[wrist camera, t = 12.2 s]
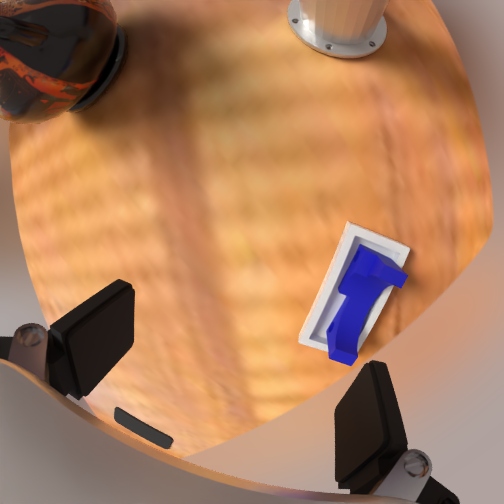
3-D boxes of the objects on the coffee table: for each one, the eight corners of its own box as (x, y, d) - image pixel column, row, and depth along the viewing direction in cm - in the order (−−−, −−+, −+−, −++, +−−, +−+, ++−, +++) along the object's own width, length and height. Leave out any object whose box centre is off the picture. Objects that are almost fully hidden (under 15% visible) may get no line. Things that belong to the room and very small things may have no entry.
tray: (347, 220, 30) (350, 223, 28) (404, 244, 29) (410, 248, 27) (298, 334, 35) (298, 342, 33) (351, 350, 34) (353, 359, 32)
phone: (167, 450, 49) (114, 420, 50) (168, 448, 50) (115, 418, 51) (173, 439, 47) (114, 406, 48) (174, 436, 48) (116, 404, 48)
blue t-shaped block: (359, 243, 30) (372, 258, 24) (391, 258, 29) (408, 275, 24) (315, 327, 33) (317, 354, 28) (345, 338, 33) (351, 366, 27)
